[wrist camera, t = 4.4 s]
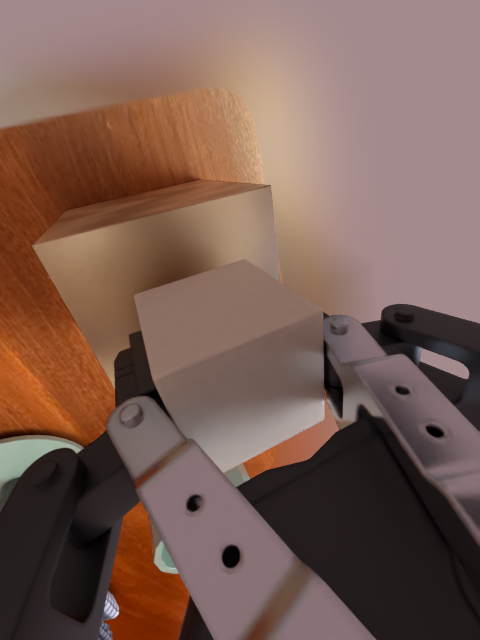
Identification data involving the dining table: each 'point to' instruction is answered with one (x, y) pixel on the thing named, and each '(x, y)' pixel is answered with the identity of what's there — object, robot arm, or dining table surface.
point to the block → (235, 359)
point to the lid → (25, 457)
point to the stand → (151, 251)
